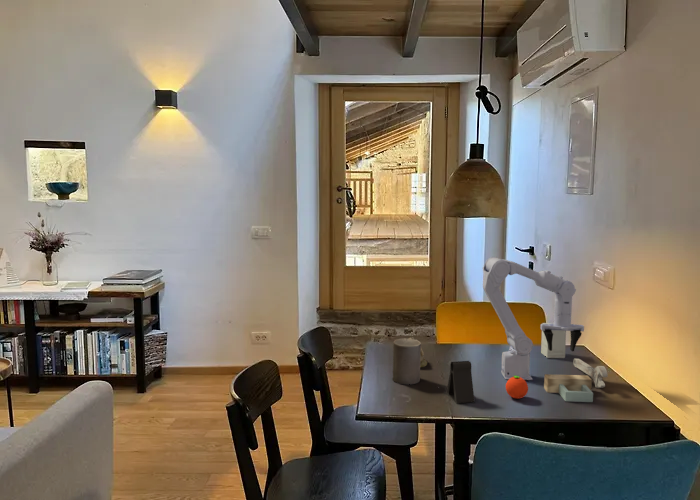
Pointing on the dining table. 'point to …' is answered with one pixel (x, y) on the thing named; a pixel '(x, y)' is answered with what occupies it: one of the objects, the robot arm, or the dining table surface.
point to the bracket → (576, 394)
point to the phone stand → (460, 382)
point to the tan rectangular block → (566, 382)
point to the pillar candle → (406, 361)
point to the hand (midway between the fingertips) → (561, 350)
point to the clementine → (516, 387)
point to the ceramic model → (421, 358)
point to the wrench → (592, 372)
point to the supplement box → (554, 344)
